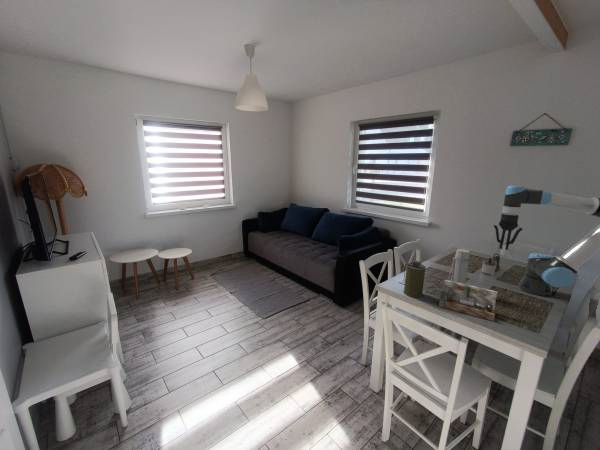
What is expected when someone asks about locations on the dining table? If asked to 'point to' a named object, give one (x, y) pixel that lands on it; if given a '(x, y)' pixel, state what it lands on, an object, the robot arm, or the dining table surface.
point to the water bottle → (460, 266)
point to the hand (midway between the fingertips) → (502, 254)
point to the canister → (414, 279)
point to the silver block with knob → (470, 302)
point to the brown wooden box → (454, 291)
